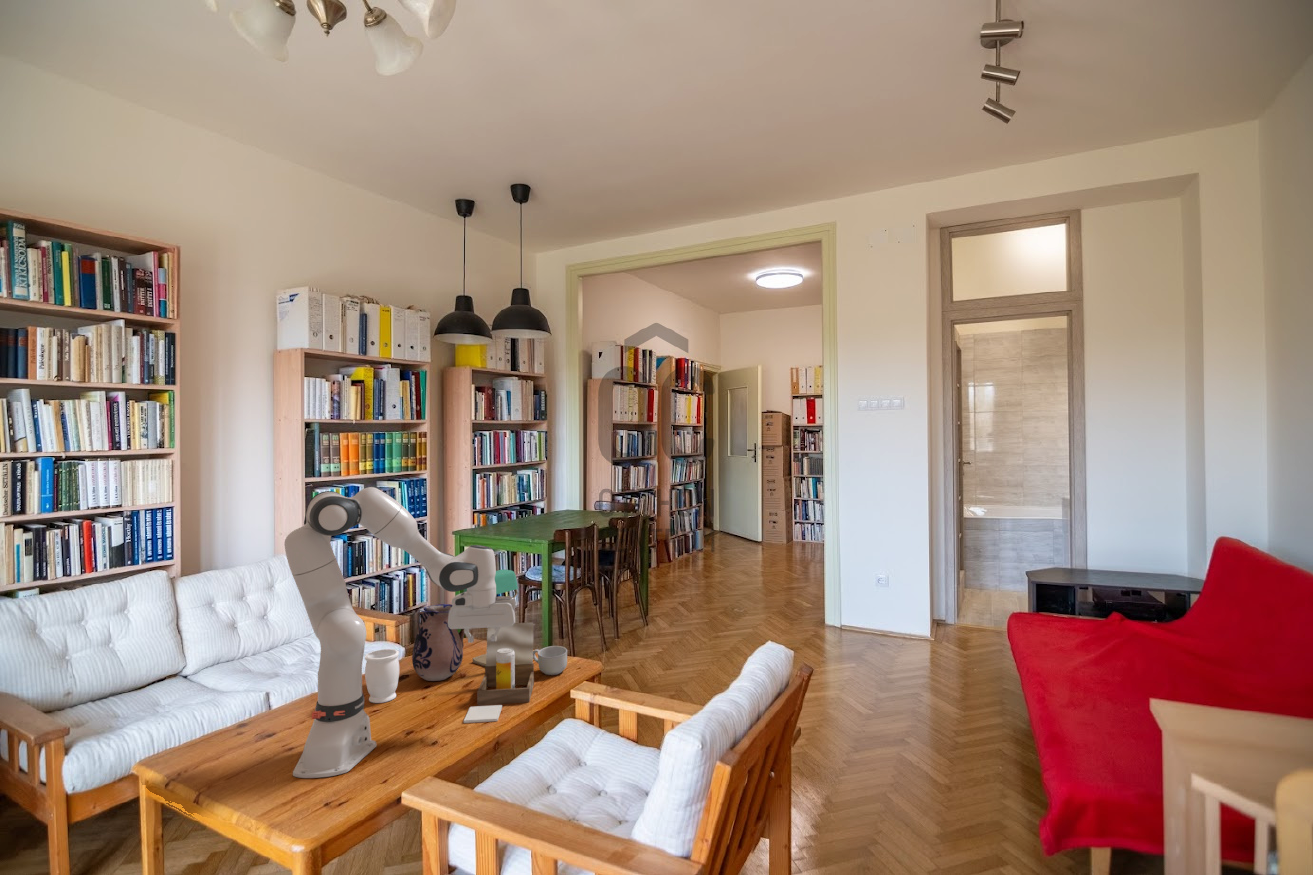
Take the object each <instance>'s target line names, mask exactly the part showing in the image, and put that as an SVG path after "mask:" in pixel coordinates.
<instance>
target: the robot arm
mask: <svg viewBox="0 0 1313 875" xmlns="http://www.w3.org/2000/svg"><path fill="white" fill-rule="evenodd" d="M357 525H360V526H362V527H364V529H366V530H367V531H369V532H370V533H371V534H372V535H373V536H374V537H375V538H377V539H378V540H380V541H381V542H383V543H384V544H386V545H387V546H390V547H392V548H397V549H401V550H403V551H404V552H407V553H408V555H410V556H411V557H412V558H413V559H415V560H416V561H417V562H418V563H419V564H421V565H422V566H423V568H424V570H425V571H426V574H427V577H428V578H429V581H431V582H432V583H433V584H434V585H436V586H439V587H440V588H441V589H443V590H445V591H447V592H451V593H454V592H455V593H456V592H459V591H462V590H463V592H461V593H458V594H456V595H455V596H454V597H453V598H452V599H451V605H452V607H451V609H450V611H449V616H448V627H449V628H450V629H457V630H461V629H464V633H465V636H466V638H467V642H468V643H474V641H475V636H474V635H472V634H471V633H470V630H471V629H481V628H482V629H484V628H485V629H486V628H490V627H494V630H495V631H496V632H495V634H493V635H491V642H492V641H496V639H497V638H496V635H497V633H498V631H499V629H500V627H511V626H513V625H514V623H516V613H515V609H516V607H517V602H516V599H515V598H513V597H512V596H510V595H506V596H503V595H501V596H499V595H498V596H497V594H496V583H495V575H496V571H497V567H496V556H495V552H494V549H492V548H491V547H489V546H486V545H481V544H480V545H479V544H472V545H469V546H468V547H467V548H466V549H465V550H463V551H462V552H461V553H459V554H457V555H452V554H450V553H448V552H447V553H446V552H444V551H440V550H438V549H437V548H436V547H435V546H433V545H432V543H430V541H428V539H425V537H423V535H422V534H421V533H420V531H419V529H418V528H419V527H418V522H417V521H416V519H415V518H414V517H413V515H412V514H411V513H410V512H409V510H407V508H405V507H404V506H403V505H402V504H401V503H399V502H398V501H397V500H396V499H395V498H393V497H392V496H390V495H389V494H387V493H386V492H384V491H382V490H380V489H379V488H377V487H374V486H368V487H365V488H363V489H361V490H359V491H358V492H357V493H355V495H354V496H351V497H346V496H344V495H343V494H341V493H339V492H338V491H332V490H331V491H330V490H326V491H325V490H324V491H321V492H319V493H317V494H316V495H314V496H313V497H312V498H311V499H310V500H309V502H308V504H307V507H306V511H305V516H304V521H303V526H301V527H298V528H297V529H294V530H293V531H291V532H290V533H289V534H287V535H286V537H285V539H284V550H285V556H286V560H287V564H288V566H289V571H290V572H291V575H292V577H293V580H294V583H295V584H296V587H297V590H298V592H299V594H300V597H301V599H302V603H303V605H304V608H305V612H306V614H307V616H308V619H309V621H310V624H311V627H312V629H313V633H314V635H315V637H316V638H317V639H318V640H319V644H320V656H319V658H320V659H319V665H318V671H317V701H316V705H315V709H314V710H313V711H312V712H311V720H313V722H312V725H311V728H310V730H309V732H308V733H309V734H308V735H307V738H306V740H305V744H304V747H303V752H302V753H301V756H300V758H299V760H298V762H297V763H296V765H295V767H294V768H293V771H292V776H293V777H295V778H300V779H315V778H316V779H317V778H318V779H319V778H327V777H333V776H337V775H343V774H346V773H348V772H349V771H351V770H352V769H353V768H354V767H355V766H356V765H357V764H358V763H360V762H361V761H362V760H363V759H364V758H365V757H366V756H368V754H370V753H371V752H372V751H373V750H374V749H375V748H377V741H376V740H373V739H372V733H371V719H370V718H371V717H370V716H369V714H368V713H366V711H365V710H364V708H365V695H364V693H363V661H364V660H363V659H364V656H365V646H366V641H367V628H366V624H365V622H364V620H363V619H362V618H361V617H360V616H359V615H358V614H357V613H356V611H355V610H354V608H353V606H352V605H353V604H352V602H351V599H350V596H349V593H348V589H347V583H346V580H345V579H344V575H343V572H342V570H341V567H340V565H339V563H338V560H337V558H336V555H335V553H334V551H333V548H332V544H331V538H332V536H334V537H335V536H339V535H341V534H343V533H345V532H347V531H348V530H350V529H352V528H354V527H356V526H357ZM464 589H467V592H464Z"/></svg>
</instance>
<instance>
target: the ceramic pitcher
mask: <svg viewBox="0 0 1313 875" xmlns="http://www.w3.org/2000/svg"><path fill="white" fill-rule="evenodd" d="M451 607H452V603H449V604H448V603H440V604H439V603H438V604H433V605H432V604H431V605H428V606H425V607H423V608H422V609H423V610H421V611H419V612H418V614H419V626H418V628H417V633H416V636H415V638H414V639H415V640H414V644H413V647H412V653H411V660H412V666H413V669H414V672H415V673H416V674H417V675H418V676H419V677H420V678H422V679H423V680H425V681H429V682H436V681H437V682H438V681H439V682H440V681H445V680H447V679H448V678H450V677H451V676H453V675H454V674H455V673H456V672H457V671H458V670H459V668H460V666H462V662H463V658H464V646H465V645H464V638H465V636H466V634H465V633H464V629H460V631H459V629H450V628H449V627H448V616H449V611H450V609H451Z"/></svg>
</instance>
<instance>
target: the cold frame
mask: <svg viewBox="0 0 1313 875" xmlns="http://www.w3.org/2000/svg"><path fill="white" fill-rule="evenodd" d="M495 632H496V631H495V630H494V627H490V628H487V634H486V652H485V654H486V666H485V667H484V676H483V678H482V680H481V682H480V684H479V686H478V688H477V691H476V694H477V697H476V703H477V704H476V705H477V706H488V705H502V704H503V705H505V704H519V703H521V704H522V703H530V700H531V697H532V693H533V688H534V685H535V677H534V676H535V674H534V671H535V670H534V669H535V668H534V666H535V665H534V662H533V661H534V659H533V651H534V622H515V623H514V625H513V626H511V627H500V629H499V631H498V633H497V635H496V638H497V639H496V641H492V642H491V635H493V634H495ZM501 648H512V649H513V650H514V652H515V686H526V687H517V688H516V687H515V688H513V689H496V653H497V650H499V649H501ZM493 687H495V689H488V688H493Z"/></svg>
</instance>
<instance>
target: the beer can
mask: <svg viewBox="0 0 1313 875" xmlns="http://www.w3.org/2000/svg"><path fill="white" fill-rule="evenodd" d="M515 686H516V685H515V652H514V650H513V649H512V648H501V649H499V650H497V653H496V686H495V689H513V688H516V687H515Z"/></svg>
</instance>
